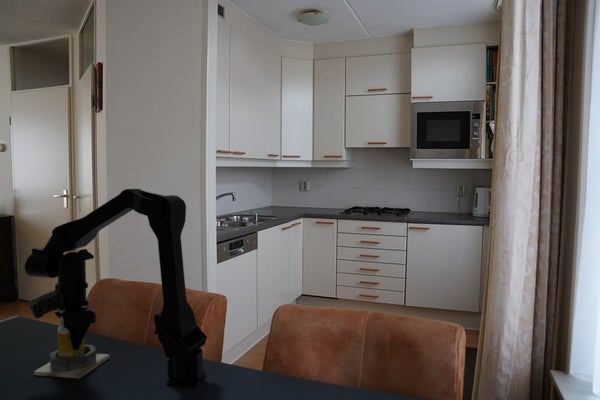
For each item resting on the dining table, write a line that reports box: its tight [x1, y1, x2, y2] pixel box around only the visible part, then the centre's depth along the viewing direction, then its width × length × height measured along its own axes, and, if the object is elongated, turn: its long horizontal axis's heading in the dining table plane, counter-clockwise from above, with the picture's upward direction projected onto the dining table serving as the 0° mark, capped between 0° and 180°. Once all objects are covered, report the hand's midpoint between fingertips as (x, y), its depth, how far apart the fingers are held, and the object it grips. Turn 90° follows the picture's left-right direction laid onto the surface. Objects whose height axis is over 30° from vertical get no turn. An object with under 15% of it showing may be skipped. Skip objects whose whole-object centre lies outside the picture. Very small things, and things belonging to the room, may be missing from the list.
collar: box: [33, 344, 110, 379], centre depth 99 cm, size 11×11×3 cm
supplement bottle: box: [56, 319, 85, 359], centre depth 98 cm, size 5×5×10 cm
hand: (73, 345), depth 99 cm, fingers closed on supplement bottle, 5 cm apart
